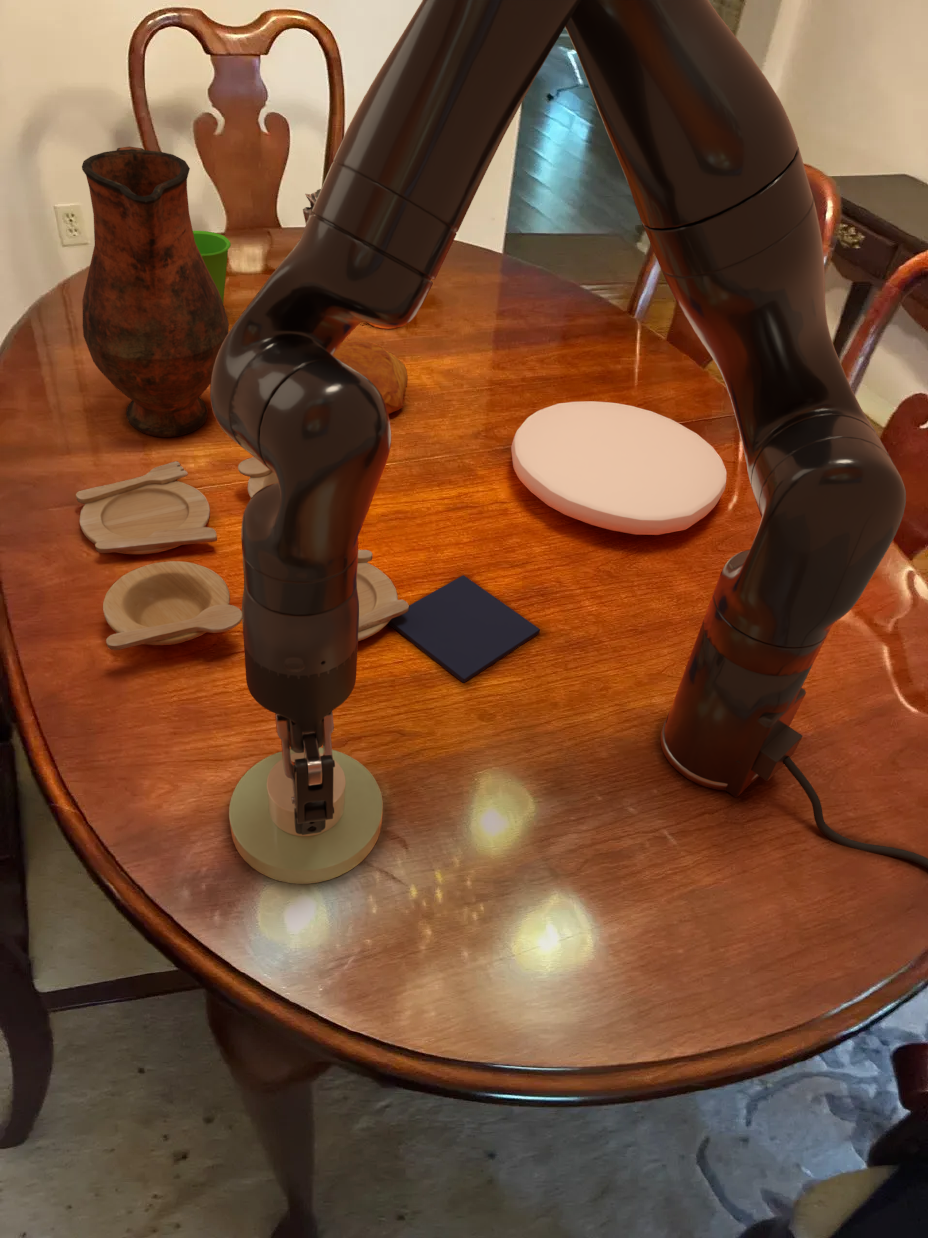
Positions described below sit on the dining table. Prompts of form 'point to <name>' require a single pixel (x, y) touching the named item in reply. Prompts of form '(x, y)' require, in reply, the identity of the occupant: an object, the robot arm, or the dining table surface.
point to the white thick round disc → (618, 467)
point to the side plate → (305, 854)
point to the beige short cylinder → (282, 793)
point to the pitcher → (150, 291)
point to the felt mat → (463, 628)
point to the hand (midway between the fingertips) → (302, 783)
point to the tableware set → (182, 591)
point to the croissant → (377, 369)
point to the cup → (214, 256)
